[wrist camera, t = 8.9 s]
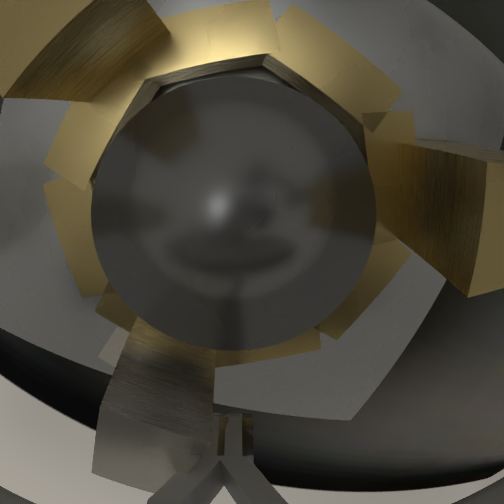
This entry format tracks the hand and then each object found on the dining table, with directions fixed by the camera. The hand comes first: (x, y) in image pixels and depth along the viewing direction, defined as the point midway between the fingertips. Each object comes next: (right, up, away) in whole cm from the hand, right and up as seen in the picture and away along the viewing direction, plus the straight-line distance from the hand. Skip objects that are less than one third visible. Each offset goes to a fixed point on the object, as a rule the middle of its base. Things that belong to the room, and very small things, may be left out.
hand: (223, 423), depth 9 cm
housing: (0, +8, +1) cm, 8 cm away
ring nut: (+2, +7, -1) cm, 8 cm away
